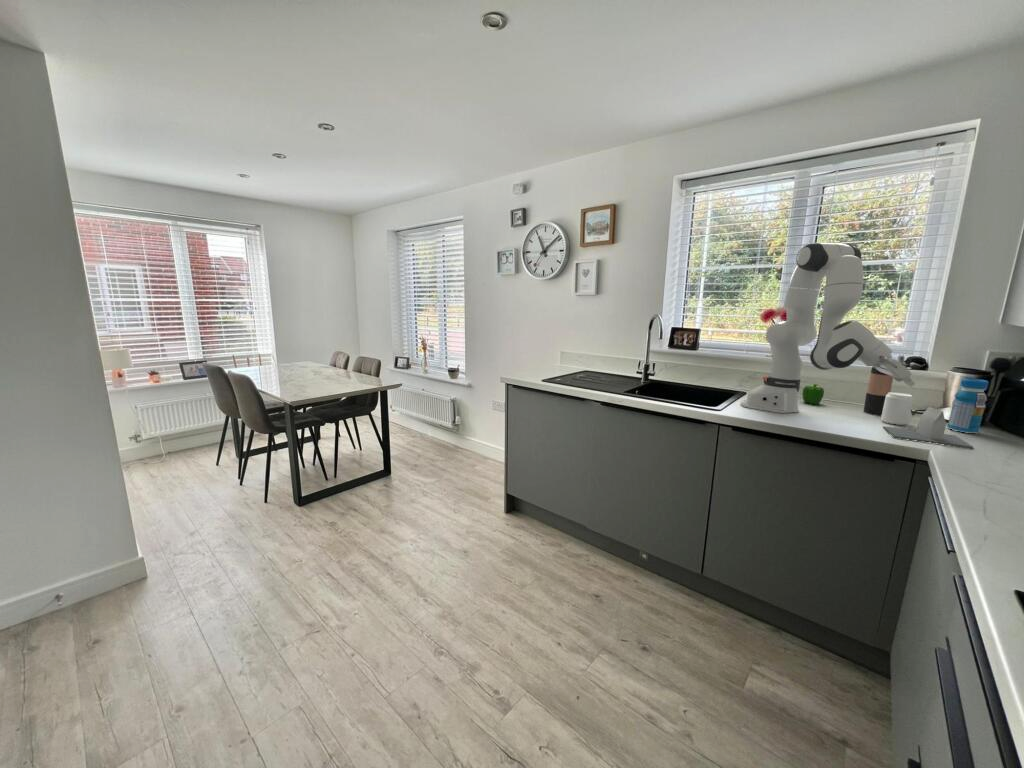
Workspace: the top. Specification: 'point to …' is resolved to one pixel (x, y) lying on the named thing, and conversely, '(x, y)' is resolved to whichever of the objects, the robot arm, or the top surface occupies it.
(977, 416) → the beverage bottle
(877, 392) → the travel mug
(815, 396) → the bell pepper
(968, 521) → the top surface
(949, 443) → the charcoal mat
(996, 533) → the top surface
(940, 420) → the grey block
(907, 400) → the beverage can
